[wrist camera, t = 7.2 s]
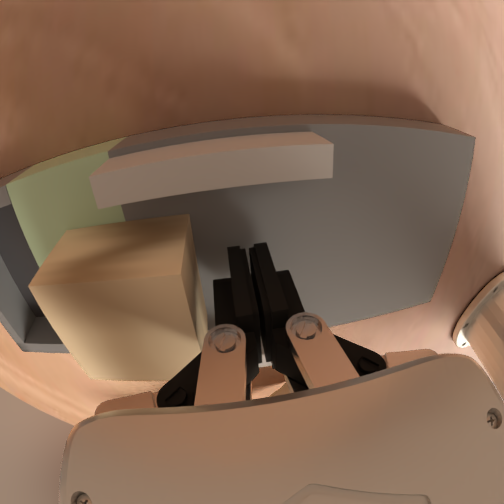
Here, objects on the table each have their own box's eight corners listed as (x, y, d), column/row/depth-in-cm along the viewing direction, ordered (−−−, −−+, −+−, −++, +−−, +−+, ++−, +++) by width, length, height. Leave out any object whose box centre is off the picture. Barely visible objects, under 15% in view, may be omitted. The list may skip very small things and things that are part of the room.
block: (189, 213, 12) (180, 274, 8) (207, 315, 15) (209, 378, 12) (66, 230, 11) (28, 286, 8) (106, 321, 14) (90, 379, 11)
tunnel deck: (442, 124, 13) (503, 150, 9) (410, 276, 20) (445, 322, 16) (-31, 193, 11) (-77, 234, 7) (34, 324, 18) (14, 373, 14)
